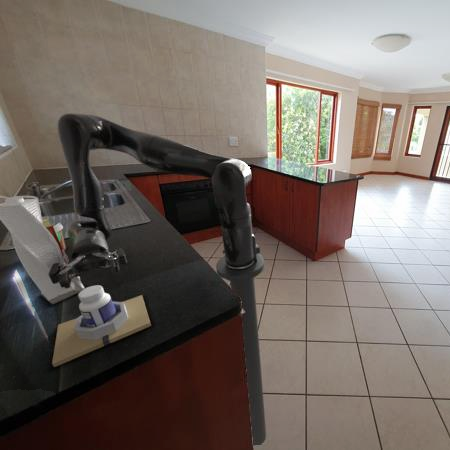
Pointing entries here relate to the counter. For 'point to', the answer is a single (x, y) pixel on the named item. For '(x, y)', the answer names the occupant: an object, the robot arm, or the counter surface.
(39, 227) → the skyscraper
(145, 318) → the pad dock
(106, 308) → the pill bottle
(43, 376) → the counter surface
